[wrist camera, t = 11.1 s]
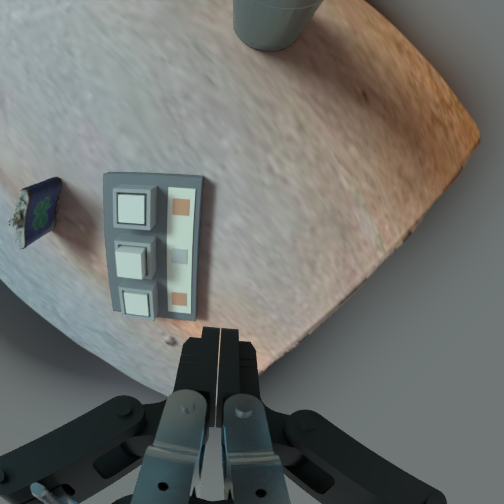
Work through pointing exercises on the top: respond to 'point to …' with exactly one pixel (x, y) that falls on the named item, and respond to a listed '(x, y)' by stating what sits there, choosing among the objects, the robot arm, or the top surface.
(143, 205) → the button
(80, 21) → the top surface
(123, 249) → the button middle
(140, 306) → the button
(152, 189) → the board
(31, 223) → the flask
